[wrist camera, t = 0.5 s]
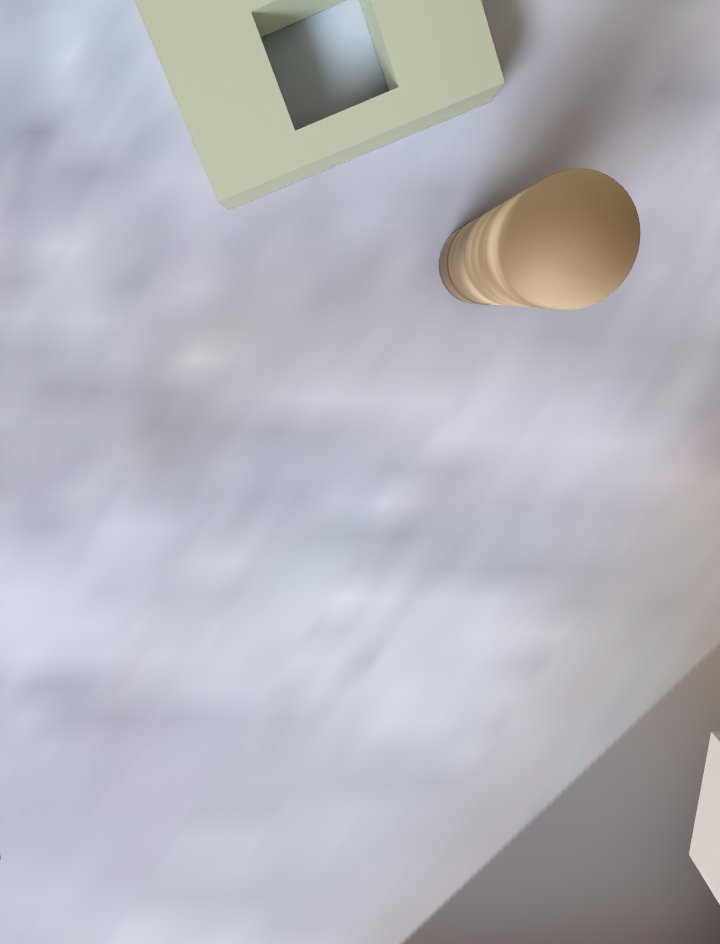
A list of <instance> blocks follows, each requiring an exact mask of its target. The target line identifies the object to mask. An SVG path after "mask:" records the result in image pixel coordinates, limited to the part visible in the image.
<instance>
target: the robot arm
mask: <svg viewBox="0 0 720 944" xmlns="http://www.w3.org/2000/svg"><path fill="white" fill-rule="evenodd" d="M689 855H690V857H691V858H692V860H693V862H694V863H695V865H696V867H697V868H698V870H699V871H700V873H701V875H702V876H703V878H704V880H705V881H706V883H707V885H708V886H709V888H710V889H711V891H712V893H713V894H714V896H715V897H716V899H717V901H718V902H719V904H720V732H711V736H710V742H709V748H708V754H707V758H706V764H705V769H704V775H703V780H702V787H701V792H700V797H699V803H698V808H697V814H696V819H695V825H694V830H693V836H692V841H691V847H690V852H689ZM0 859H1V856H0Z"/></svg>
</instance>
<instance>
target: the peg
mask: <svg viewBox="0 0 720 944" xmlns="http://www.w3.org/2000/svg"><path fill="white" fill-rule="evenodd" d="M639 244H640V223H639V217H638V213H637V210H636V207H635V205H634V203H633V201H632V199H631V197H630V196H629V194H628V193H627V191H626V190H625V189H624V188H623V187H622V186H621V185H620V184H619V183H618V182H617V181H615V180H614V179H613V178H611V177H609V176H608V175H606V174H603V173H601V172H599V171H595V170H591V169H582V168H580V169H569V170H563V171H560V172H557V173H554V174H552V175H550V176H548V177H546V178H545V179H543V180H541V181H539V182H538V183H536V184H534V185H533V186H531V187H529V188H528V189H526V190H524V191H522V192H521V193H519V194H517V195H516V196H514V197H512V198H511V199H509V200H507V201H505V202H504V203H502V204H500V205H499V206H497V207H495V208H494V209H492V210H490V211H488V212H487V213H485V214H483V215H482V216H480V217H478V218H476V219H474V220H472V221H471V222H469V223H467V224H466V225H465V226H463V227H461V228H460V229H458V230H457V231H455V232H454V233H453V234H452V235H451V236H450V237H449V238H448V239H447V241H446V242H445V244H444V246H443V248H442V251H441V254H440V258H439V272H440V276H441V279H442V282H443V284H444V286H445V287H446V289H447V290H448V291H449V292H450V293H451V294H452V295H453V296H454V297H456V298H457V299H459V300H461V301H464V302H468V303H476V304H485V305H507V306H522V307H537V308H552V309H578V308H584V307H587V306H590V305H593V304H595V303H597V302H599V301H601V300H603V299H604V298H606V297H607V296H609V295H610V294H611V293H612V292H614V291H615V290H616V289H617V288H618V287H619V286H620V285H621V284H622V282H623V281H624V280H625V278H626V277H627V275H628V274H629V272H630V270H631V269H632V266H633V264H634V262H635V259H636V256H637V253H638V249H639Z"/></svg>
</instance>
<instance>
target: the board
mask: <svg viewBox="0 0 720 944" xmlns="http://www.w3.org/2000/svg"><path fill="white" fill-rule="evenodd" d="M344 1H346V0H135V2H136V5H137V7H138V10H139V12H140V14H141V17H142V19H143V22H144V24H145V27H146V29H147V31H148V34H149V36H150V39H151V41H152V44H153V46H154V48H155V51H156V53H157V56H158V58H159V61H160V63H161V65H162V68H163V70H164V73H165V75H166V78H167V80H168V82H169V85H170V87H171V90H172V92H173V95H174V97H175V99H176V102H177V104H178V107H179V109H180V112H181V114H182V116H183V119H184V121H185V124H186V126H187V129H188V131H189V133H190V136H191V138H192V141H193V143H194V146H195V148H196V150H197V153H198V155H199V158H200V160H201V163H202V165H203V167H204V170H205V172H206V175H207V177H208V180H209V182H210V184H211V187H212V189H213V192H214V194H215V197H216V199H217V201H218V203H220V204H221V205H223V206H224V207H225V208H227V209H228V210H230V209H233V208H235V207H238V206H240V205H242V204H245V203H247V202H250V201H252V200H254V199H257V198H259V197H262V196H264V195H266V194H269V193H271V192H274V191H276V190H278V189H281V188H283V187H286V186H288V185H291V184H293V183H295V182H298V181H300V180H303V179H305V178H307V177H310V176H312V175H315V174H317V173H319V172H322V171H324V170H327V169H329V168H331V167H334V166H336V165H339V164H341V163H344V162H346V161H348V160H351V159H353V158H356V157H358V156H360V155H363V154H365V153H368V152H370V151H372V150H375V149H377V148H380V147H382V146H384V145H387V144H389V143H392V142H394V141H397V140H399V139H401V138H404V137H406V136H409V135H411V134H413V133H416V132H418V131H421V130H423V129H425V128H428V127H430V126H433V125H435V124H437V123H440V122H442V121H445V120H447V119H449V118H452V117H454V116H457V115H459V114H462V113H464V112H466V111H469V110H471V109H474V108H476V107H478V106H481V105H483V104H486V103H488V102H490V101H491V100H492V99H493V97H494V96H495V95H496V93H497V92H498V91H499V89H500V88H501V87H502V85H503V84H504V83H505V82H504V78H503V75H502V71H501V68H500V64H499V61H498V57H497V54H496V50H495V47H494V43H493V40H492V36H491V33H490V30H489V26H488V23H487V19H486V16H485V12H484V9H483V5H482V2H481V0H359V1H360V4H361V7H362V11H363V14H364V17H365V20H366V23H367V26H368V29H369V32H370V35H371V38H372V41H373V44H374V47H375V50H376V53H377V56H378V59H379V62H380V65H381V68H382V71H383V74H384V77H385V80H386V83H387V86H388V89H389V91H388V92H386V93H383V94H381V95H379V96H376V97H374V98H371V99H369V100H367V101H364V102H362V103H360V104H357V105H355V106H352V107H350V108H348V109H345V110H343V111H341V112H338V113H336V114H334V115H331V116H329V117H326V118H324V119H322V120H319V121H317V122H315V123H312V124H310V125H307V126H305V127H303V128H300V129H298V130H296V131H295V129H294V126H293V123H292V121H291V118H290V115H289V113H288V110H287V107H286V105H285V102H284V99H283V97H282V94H281V91H280V89H279V86H278V83H277V80H276V78H275V75H274V72H273V70H272V67H271V64H270V62H269V59H268V56H267V54H266V51H265V48H264V45H263V43H262V40H261V37H263V36H266V35H268V34H270V33H272V32H275V31H277V30H279V29H282V28H284V27H286V26H289V25H291V24H293V23H295V22H298V21H300V20H302V19H305V18H307V17H309V16H311V15H314V14H316V13H318V12H321V11H323V10H325V9H328V8H330V7H332V6H334V5H337V4H339V3H341V2H344Z"/></svg>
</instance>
